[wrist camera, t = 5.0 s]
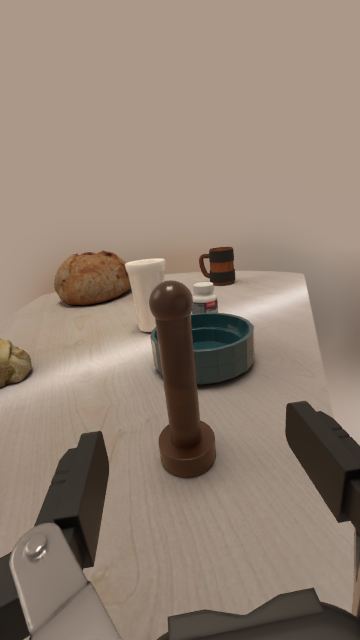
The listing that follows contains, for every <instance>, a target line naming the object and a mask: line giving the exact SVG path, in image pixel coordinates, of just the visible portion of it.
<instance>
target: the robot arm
mask: <svg viewBox="0 0 360 640" xmlns="http://www.w3.org/2000/svg"><path fill="white" fill-rule="evenodd" d="M285 432H286V439H287V442H288V444H289V446H290V448H291V450H292V451H293V453H294V454H295V456H296V457H297V459H298V461H299V462H300V464H301V465H302V467H303V468H304V470H305V471H306V473H307V475H308V476H309V478H310V479H311V481H312V482H313V484H314V485H315V487H316V489H317V490H318V492H319V493H320V495H321V496H322V498H323V499H324V501H325V503H326V504H327V506H328V507H329V509H330V510H331V512H332V513H333V515H334V517H335V518H336V520H337V521H338V523H340V522H346V521H351V522H352V524H353V525H354V527H355V533H354V592H353V605H352V614H351V613H349V612H347V611H346V610H344V609H341V608H339V607H337V606H334V605H331V604H328V603H324V602H320V601H319V598H318V596H317V594H316V592H315V590H314V588H310V589H305V590H300V591H295V592H290V593H285V594H280V595H278V596H276V597H274V598H273V599H271V600H270V601H268V602H266V603H265V604H263V605H262V606H260V607H258V608H257V609H255V610H254V611H252V612H250V613H249V614H247V615H238V614H231V613H224V612H218V611H211V610H200V611H195V612H190V613H185V614H180V615H175V616H170V617H168V632H167V633H165V634H164V635H162V636H161V637H159V638H158V639H157V640H360V446H359V445H358V444H357V443H356V441H355V440H353V438H352V437H350V436H349V434H348V433H347V432H346V431H345V430H344V429H342V427H341V426H340V425H339V424H338V423H337V422H336V421H335V420H334V419H333V418H332V417H330V416H328V415H327V414H325V413H323V412H321V411H318V412H316V411H315V410H314V409H313V408H312V407H311V405H310V404H309V403H308V402H306V401H301V402H294V403H288V404H287V407H286V431H285ZM108 476H109V461H108V456H107V452H106V447H105V443H104V439H103V435H102V432H101V431H97V432H90V433H83V434H82V435H81V437H80V440H79V443H78V446H77V448H73V449H69V450H68V451H67V452H66V453H65V455H64V456H63V457H62V458H61V459H60V461H59V464H58V466H57V469H56V471H55V475H54V477H53V479H52V482H51V485H50V487H49V490H48V492H47V495H46V497H45V500H44V502H43V505H42V508H41V510H40V513H39V515H38V518H37V521H36V523H35V526H34V528H32V529H31V530H29V531H28V532H27V533H25V534H24V535H23V536H22V537H21V538H20V540H19V541H18V542H17V544H16V545H15V547H14V549H13V550H12V552H10V553H9V554H7V555H5V556H3V557H1V558H0V640H23V639H25V638H26V637H28V636H30V638H29V640H122V639H121V637H120V635H119V633H118V631H117V629H116V627H115V625H114V624H113V622H112V620H111V618H110V616H109V614H108V612H107V610H106V609H105V607H104V605H103V603H102V601H101V599H100V597H99V595H98V594H97V592H96V590H95V588H94V586H93V585H92V583H91V582H90V581H89V582H88V580H87V578H86V577H85V575H84V573H83V568H88V567H94V562H95V556H96V549H97V543H98V537H99V531H100V525H101V519H102V513H103V507H104V501H105V495H106V489H107V483H108Z"/></svg>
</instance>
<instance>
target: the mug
mask: <svg viewBox="0 0 360 640" xmlns="http://www.w3.org/2000/svg"><path fill="white" fill-rule="evenodd" d="M203 258H209V259H210V274H209V273H207V271H206V269H205V267H204V262H203ZM233 260H234V254H233V248H232V247H219V248H213V249H210V251H209V254H203V255H201V256H200V259H199V264H200V268H201V271H202V273H203V274H204V276H205V277H207V278H210V282H211V283H213V285H229V284H232V283H234V281H235V269H234V265H233Z"/></svg>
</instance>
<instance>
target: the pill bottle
mask: <svg viewBox="0 0 360 640" xmlns="http://www.w3.org/2000/svg"><path fill="white" fill-rule="evenodd" d="M193 286H194V292H195V294H194V295H193V296H192V297H193V308H192V314H197V313H218V305H217V296H216V294H214V293H213V292H212V291H213V289H214V287H213V283H211V282H200V283H196V284H194V285H193Z"/></svg>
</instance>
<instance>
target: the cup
mask: <svg viewBox="0 0 360 640" xmlns="http://www.w3.org/2000/svg"><path fill="white" fill-rule="evenodd" d="M125 267H126V271H127V272H128V275H129V280H130V284H131V289H132V294H133V299H134V304H135V309H136V313H137V318H138V323H139V328H140V330H141V331H144V332H152V330H153V329H154V328H155V327H156V323H155V317H154V316H153V315H152V313H151V311H150V307H149V298H150V295H151V293H152V291H153V289H154V288H155V287H156V286H157V285H158V284H160V283H162V282H164V268H165V260H164V259H145V260H137V261H132V262H128V263H126V264H125Z"/></svg>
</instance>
